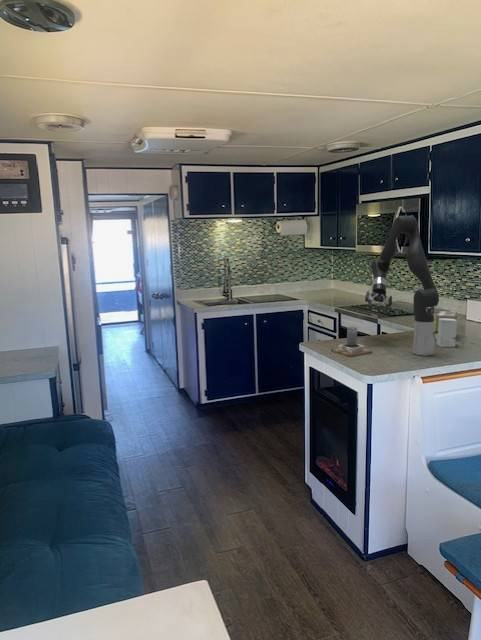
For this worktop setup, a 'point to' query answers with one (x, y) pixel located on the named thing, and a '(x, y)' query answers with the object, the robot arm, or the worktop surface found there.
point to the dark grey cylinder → (351, 337)
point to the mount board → (351, 350)
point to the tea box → (448, 316)
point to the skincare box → (446, 332)
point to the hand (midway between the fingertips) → (378, 309)
